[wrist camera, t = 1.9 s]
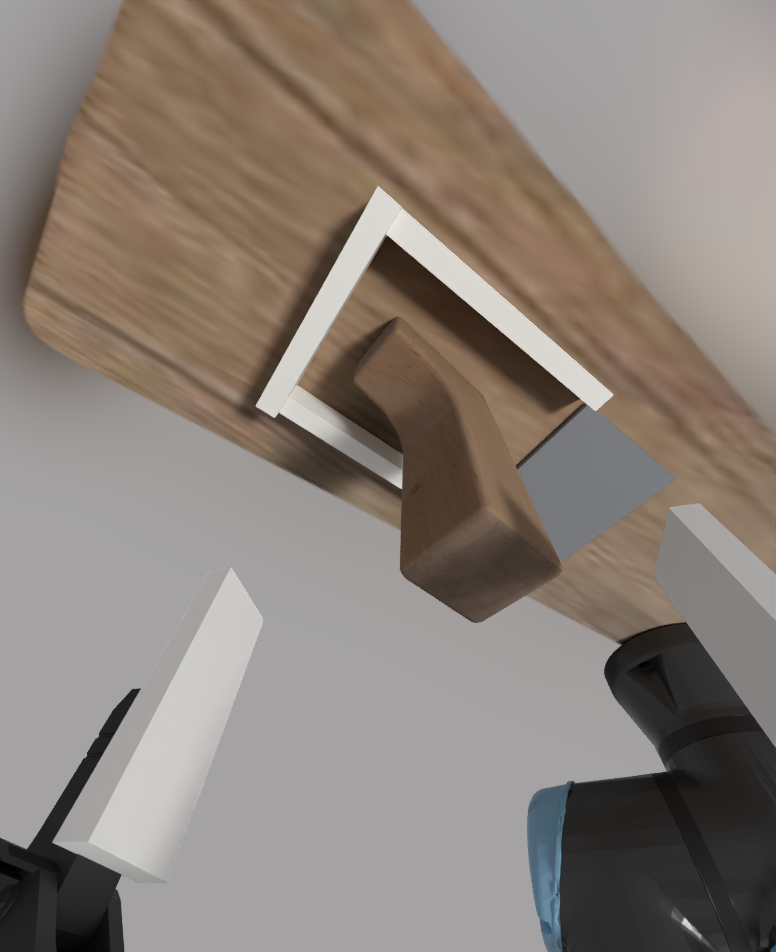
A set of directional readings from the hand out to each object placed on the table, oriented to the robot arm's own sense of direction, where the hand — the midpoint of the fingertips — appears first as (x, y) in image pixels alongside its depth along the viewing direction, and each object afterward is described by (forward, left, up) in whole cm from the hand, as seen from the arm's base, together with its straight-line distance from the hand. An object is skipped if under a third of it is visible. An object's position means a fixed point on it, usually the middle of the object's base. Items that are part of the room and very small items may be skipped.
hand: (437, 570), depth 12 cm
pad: (-13, -11, -20) cm, 26 cm away
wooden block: (0, 0, -20) cm, 20 cm away
